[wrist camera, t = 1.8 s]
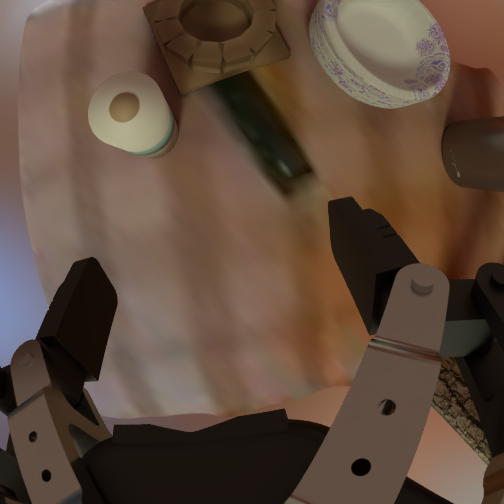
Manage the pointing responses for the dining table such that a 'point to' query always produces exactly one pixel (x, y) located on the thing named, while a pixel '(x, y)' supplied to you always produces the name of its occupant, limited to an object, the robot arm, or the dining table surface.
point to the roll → (133, 115)
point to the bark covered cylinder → (459, 408)
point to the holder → (215, 38)
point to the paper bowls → (380, 50)
